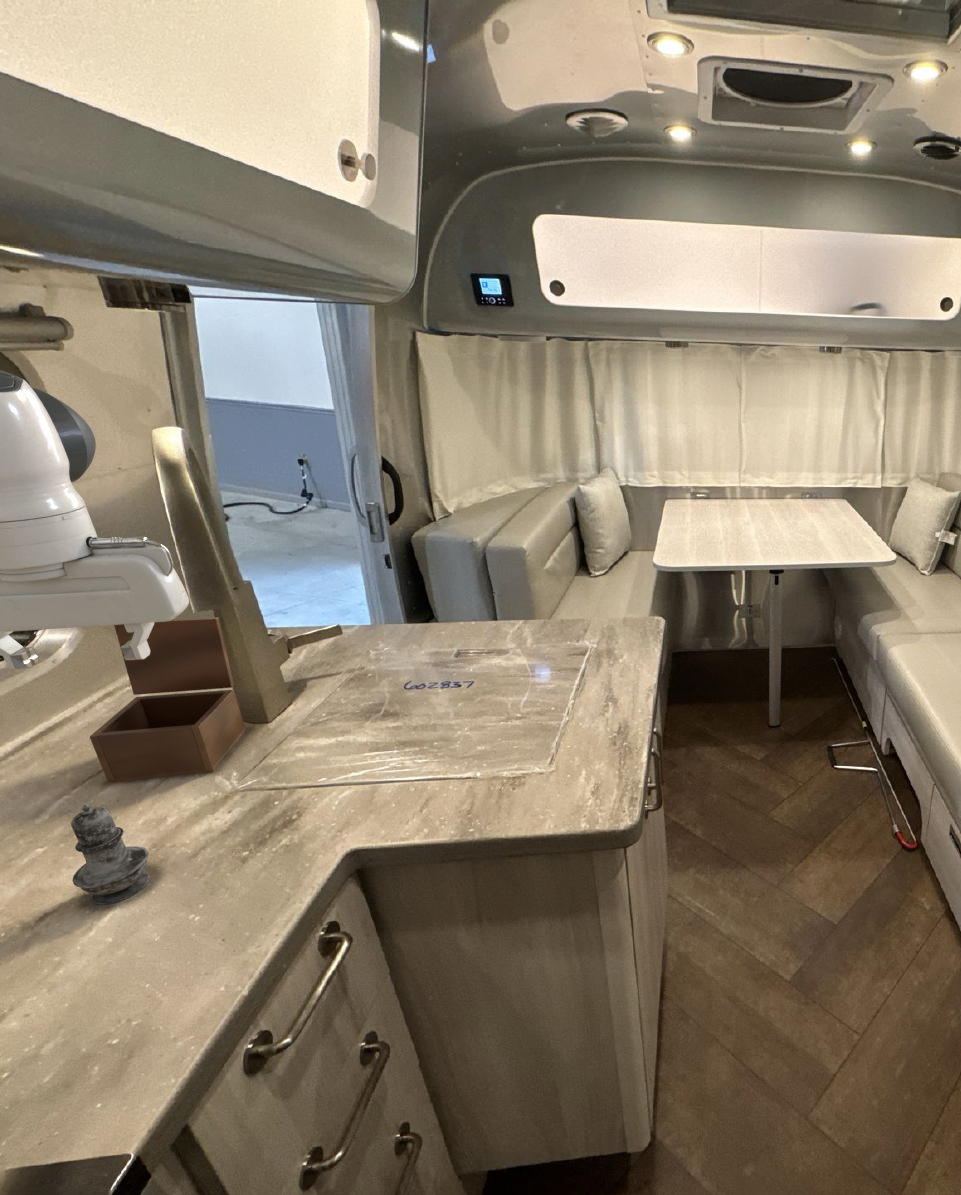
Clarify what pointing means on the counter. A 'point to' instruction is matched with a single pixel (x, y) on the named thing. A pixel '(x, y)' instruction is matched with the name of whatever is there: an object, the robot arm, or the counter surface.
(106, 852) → the grey tiered ornament
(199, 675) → the lid
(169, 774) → the bread box
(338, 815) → the counter surface
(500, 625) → the counter surface
